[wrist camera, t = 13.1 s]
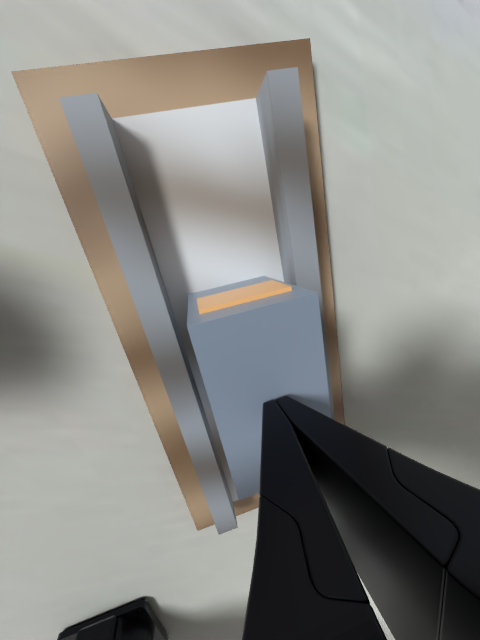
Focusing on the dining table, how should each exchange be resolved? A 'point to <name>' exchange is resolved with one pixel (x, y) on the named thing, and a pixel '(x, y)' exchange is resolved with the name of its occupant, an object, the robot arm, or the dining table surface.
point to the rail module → (256, 361)
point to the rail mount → (190, 215)
